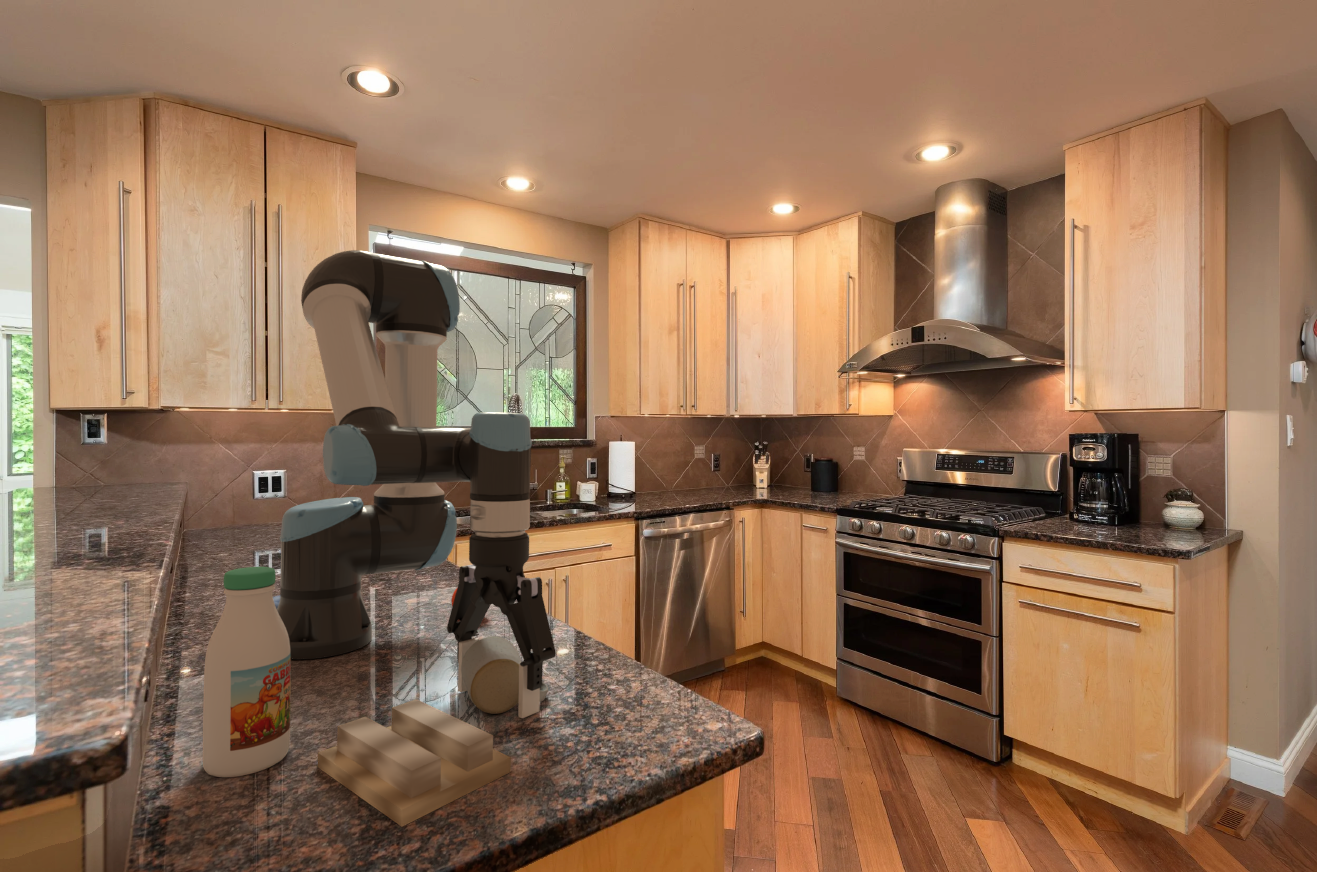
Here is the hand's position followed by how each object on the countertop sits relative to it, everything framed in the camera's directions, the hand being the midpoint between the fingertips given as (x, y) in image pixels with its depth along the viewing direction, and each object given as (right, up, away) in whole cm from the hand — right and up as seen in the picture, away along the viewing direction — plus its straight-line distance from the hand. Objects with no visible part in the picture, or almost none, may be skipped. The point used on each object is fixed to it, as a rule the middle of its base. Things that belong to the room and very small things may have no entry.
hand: (497, 700), depth 83 cm
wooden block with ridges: (-4, 0, -17) cm, 17 cm away
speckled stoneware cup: (+1, -1, 0) cm, 1 cm away
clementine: (-14, 0, +38) cm, 40 cm away
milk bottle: (-22, 0, -15) cm, 27 cm away
